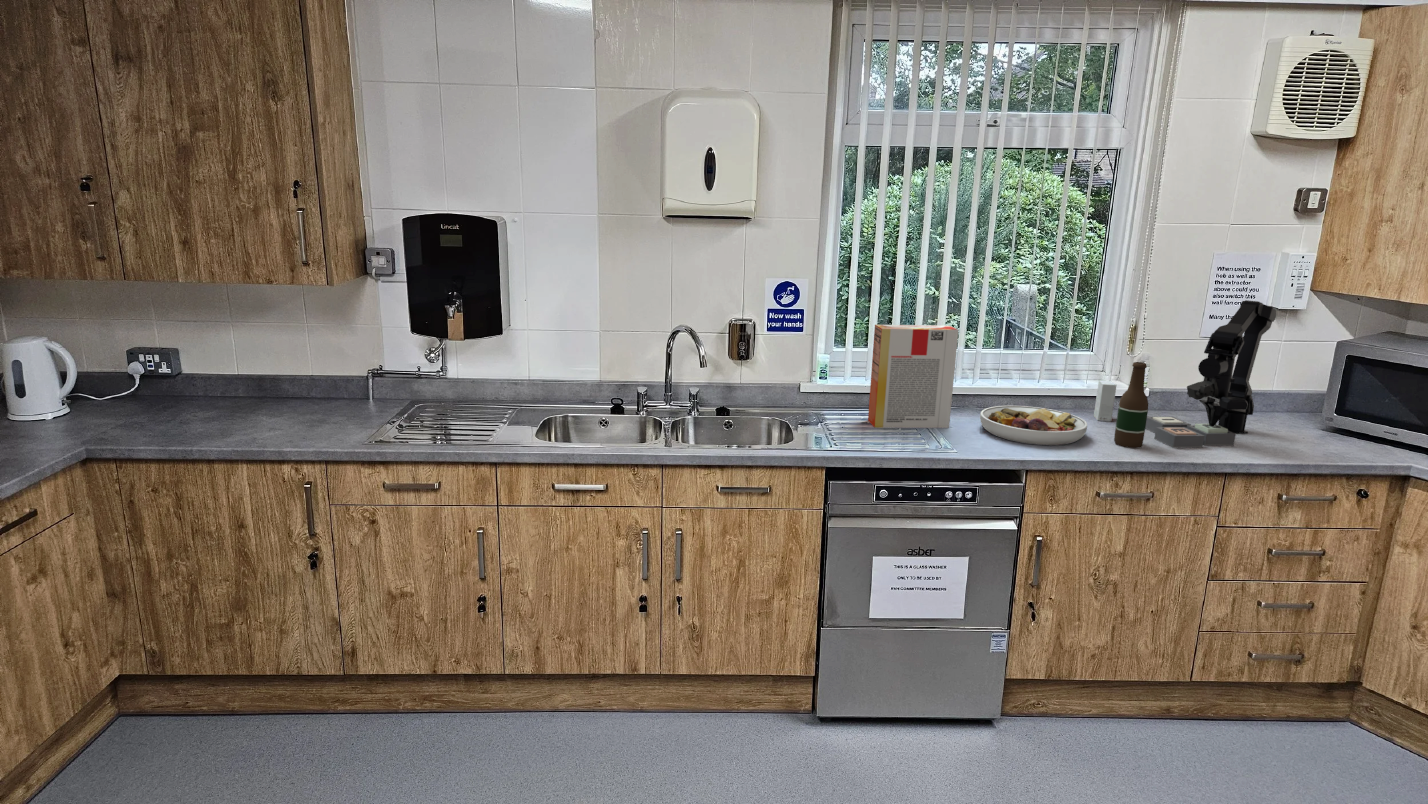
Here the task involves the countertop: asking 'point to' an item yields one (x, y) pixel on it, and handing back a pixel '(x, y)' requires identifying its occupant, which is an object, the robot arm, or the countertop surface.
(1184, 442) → the tile collars
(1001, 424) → the bowl
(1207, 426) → the tile
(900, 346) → the pasta box
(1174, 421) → the tile
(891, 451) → the countertop surface
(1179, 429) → the tile
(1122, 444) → the beer bottle
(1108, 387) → the skincare box
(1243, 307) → the robot arm
